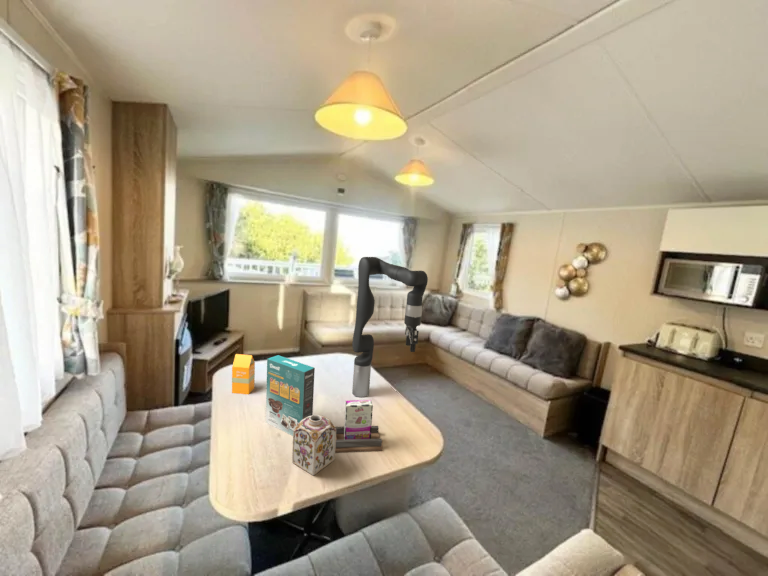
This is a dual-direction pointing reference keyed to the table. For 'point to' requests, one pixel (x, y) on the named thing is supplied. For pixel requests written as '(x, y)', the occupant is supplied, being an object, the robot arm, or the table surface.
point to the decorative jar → (314, 443)
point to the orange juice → (243, 374)
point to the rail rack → (358, 442)
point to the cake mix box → (288, 393)
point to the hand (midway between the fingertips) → (410, 348)
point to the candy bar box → (358, 419)
